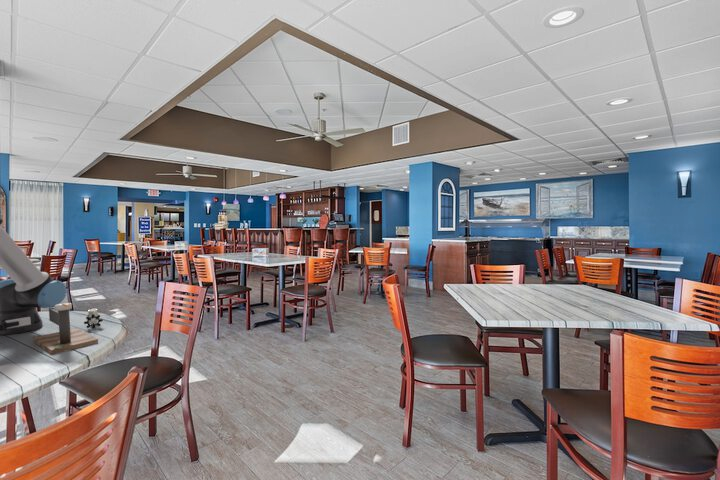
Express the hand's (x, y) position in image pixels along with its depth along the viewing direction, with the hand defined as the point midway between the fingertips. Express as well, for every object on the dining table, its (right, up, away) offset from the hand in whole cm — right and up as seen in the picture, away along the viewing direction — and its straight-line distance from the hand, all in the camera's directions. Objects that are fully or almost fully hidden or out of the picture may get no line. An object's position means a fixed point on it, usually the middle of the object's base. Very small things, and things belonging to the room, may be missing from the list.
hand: (30, 320), depth 130 cm
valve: (+4, -9, +26) cm, 28 cm away
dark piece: (+9, -8, +3) cm, 13 cm away
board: (+9, -10, +5) cm, 14 cm away
